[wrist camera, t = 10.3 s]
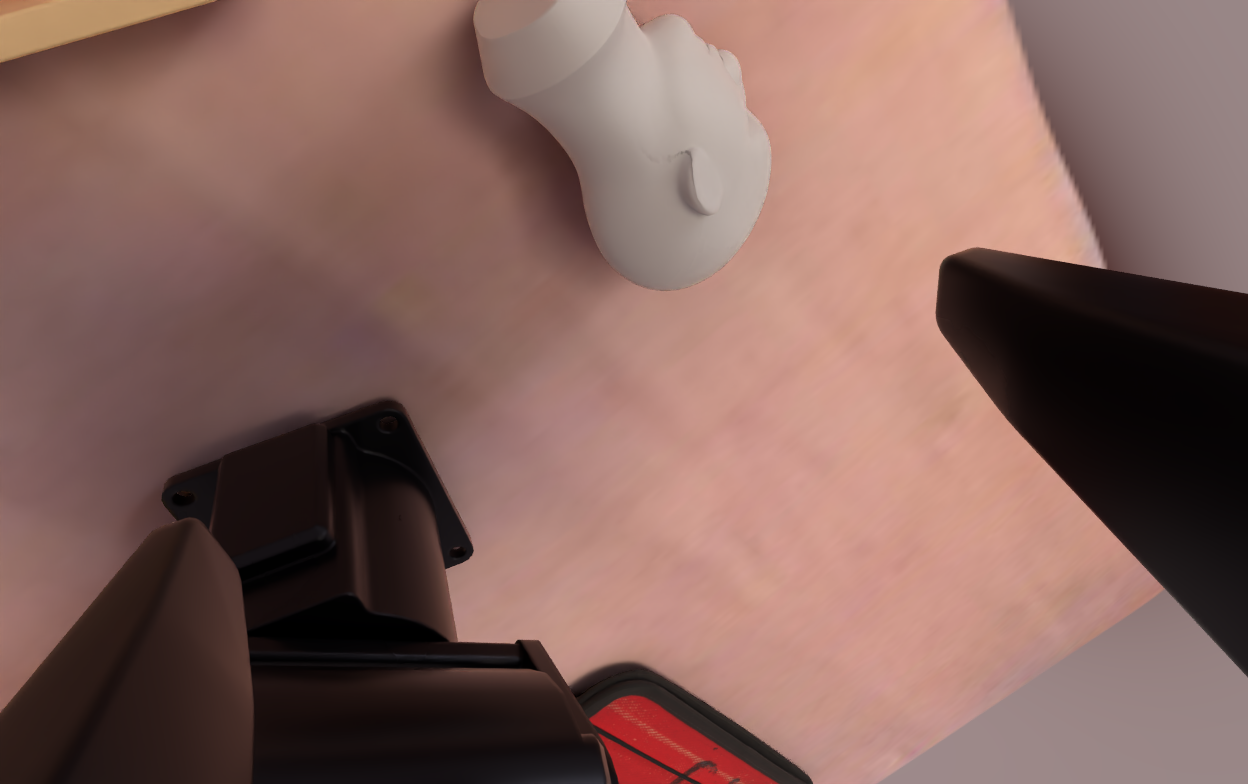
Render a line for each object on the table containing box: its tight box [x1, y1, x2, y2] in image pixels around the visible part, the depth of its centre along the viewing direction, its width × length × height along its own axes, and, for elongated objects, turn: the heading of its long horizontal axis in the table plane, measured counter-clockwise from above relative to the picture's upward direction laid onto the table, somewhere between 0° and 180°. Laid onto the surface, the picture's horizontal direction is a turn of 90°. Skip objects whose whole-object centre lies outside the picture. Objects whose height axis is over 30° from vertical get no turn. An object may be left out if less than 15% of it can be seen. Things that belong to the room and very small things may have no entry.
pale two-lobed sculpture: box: [473, 0, 771, 291], centre depth 17 cm, size 4×8×5 cm
